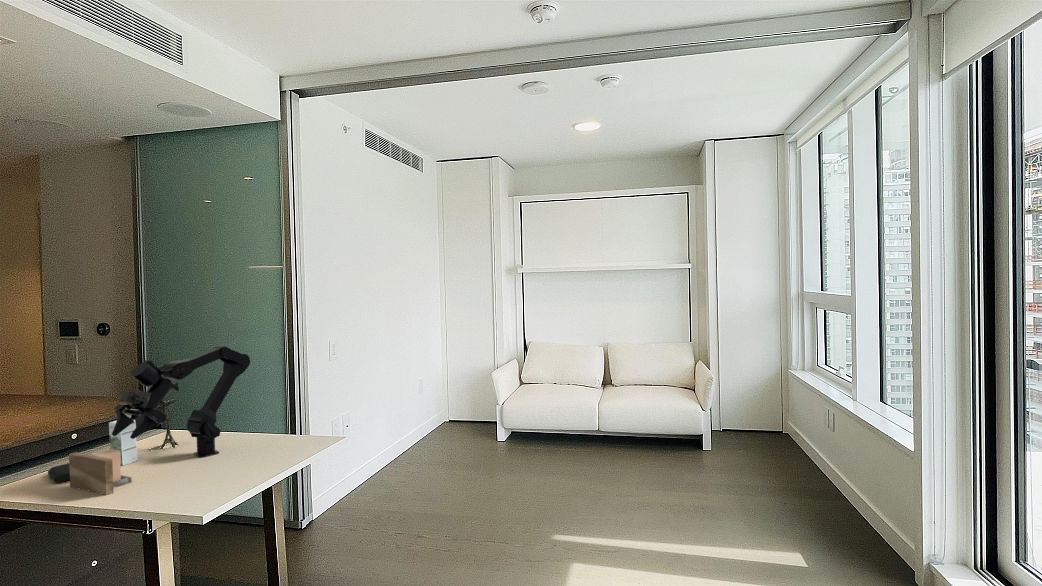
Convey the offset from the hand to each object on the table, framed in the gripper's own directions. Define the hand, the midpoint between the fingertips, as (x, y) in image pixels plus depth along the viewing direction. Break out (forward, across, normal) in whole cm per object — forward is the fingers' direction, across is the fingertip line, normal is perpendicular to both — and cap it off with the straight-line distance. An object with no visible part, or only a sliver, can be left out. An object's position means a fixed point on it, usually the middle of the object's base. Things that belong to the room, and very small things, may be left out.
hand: (122, 436), depth 184 cm
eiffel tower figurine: (-11, -22, +31) cm, 40 cm away
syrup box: (+2, -18, +18) cm, 25 cm away
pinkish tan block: (+13, 0, +6) cm, 15 cm away
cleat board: (+13, 0, +6) cm, 14 cm away
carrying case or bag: (+13, -21, +7) cm, 26 cm away
